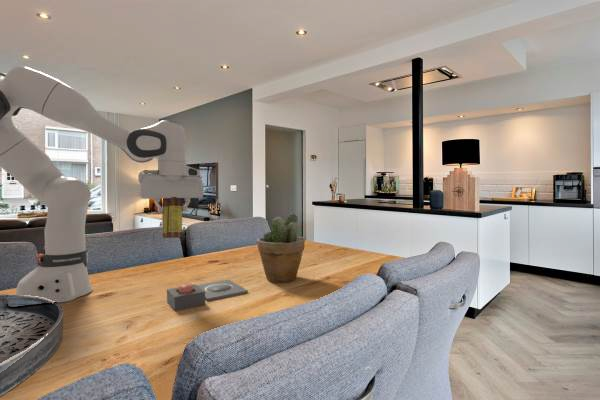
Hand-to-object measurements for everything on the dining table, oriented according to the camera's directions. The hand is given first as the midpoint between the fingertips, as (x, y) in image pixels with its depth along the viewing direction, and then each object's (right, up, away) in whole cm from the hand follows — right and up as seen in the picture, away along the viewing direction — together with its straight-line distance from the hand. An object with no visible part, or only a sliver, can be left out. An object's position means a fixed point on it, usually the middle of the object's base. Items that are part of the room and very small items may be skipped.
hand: (172, 211), depth 114 cm
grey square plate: (+15, -27, +3) cm, 31 cm away
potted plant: (+35, -27, +17) cm, 48 cm away
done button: (+8, -26, -9) cm, 28 cm away
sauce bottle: (0, -9, -1) cm, 9 cm away
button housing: (+8, -28, -9) cm, 30 cm away
